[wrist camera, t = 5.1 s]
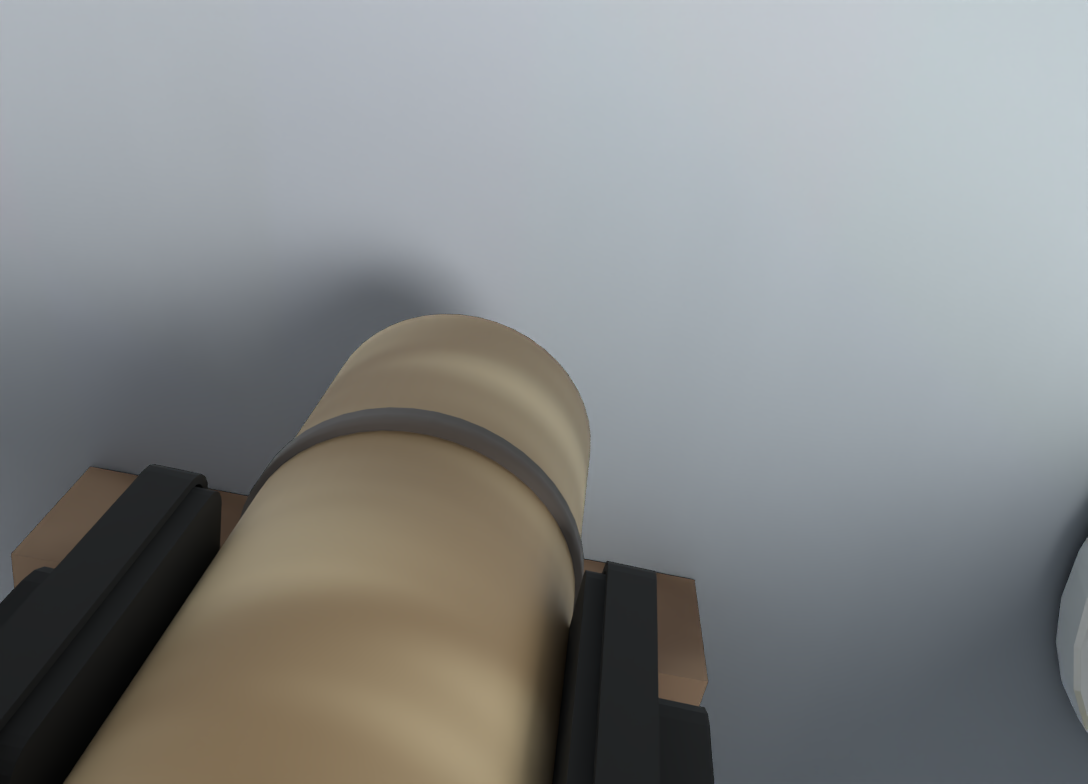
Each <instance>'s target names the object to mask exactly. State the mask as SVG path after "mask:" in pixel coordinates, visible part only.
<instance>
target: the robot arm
mask: <svg viewBox="0 0 1088 784" xmlns="http://www.w3.org/2000/svg"><path fill="white" fill-rule="evenodd" d="M221 508H222V500H221V495H220V493H219V492H218V491H214V490H209V489H208V483H207V480H206V477H205V476H204V475H202V474H198V473H193V472H189V471H184V470H179V469H175V468H170V467H165V466H161V465H156V464H153V465H149V466H148V467H147V468H146V469H144V470H143V471H142V472H141V474H140V475H139V476H138V477H137V478H136V479H135V480H134V481H133V482H132V484H131V485H130V486H129V487H128V488H127V489H126V490H125V491H124V492H123V494H122V495H121V496H120V497H119V498H118V499H117V500H116V501H115V502H114V503H113V505H112V506H111V507H110V508H109V509H108V510H107V511H106V512H105V513H104V515H103V516H102V517H101V518H100V519H99V520H98V521H97V522H96V523H95V525H94V526H93V527H92V528H91V529H90V530H89V531H88V532H87V533H86V534H85V536H84V537H83V538H82V539H81V540H80V541H79V542H78V543H77V544H76V546H75V547H74V548H73V549H72V550H71V551H70V552H69V553H68V554H67V555H66V557H65V558H64V559H63V560H62V561H61V562H60V563H59V564H58V565H57V567H56V568H55V569H54V568H50V567H45V566H44V567H41V568H38V569H35V570H33V571H32V572H31V573H30V574H29V575H27V576H26V577H25V578H24V579H23V580H22V581H21V582H20V583H19V584H18V585H17V586H16V587H15V588H14V589H13V590H12V591H11V593H10V594H9V595H8V596H7V597H6V598H5V599H4V600H3V601H2V602H1V603H0V784H63V782H64V781H65V779H66V778H67V776H68V775H69V773H70V772H71V770H72V769H73V768H74V766H75V765H76V763H77V762H78V760H79V759H80V757H81V756H82V754H83V753H84V751H85V750H86V748H87V747H88V745H89V744H90V742H91V741H92V739H93V738H94V736H95V735H96V733H97V732H98V730H99V729H100V727H101V726H102V724H103V723H104V721H105V720H106V718H107V717H108V715H109V714H110V712H111V711H112V709H113V708H114V706H115V705H116V703H117V702H118V700H119V699H120V698H121V696H122V695H123V693H124V692H125V690H126V689H127V687H128V686H129V684H130V683H131V681H132V680H133V678H134V677H135V675H136V674H137V672H138V671H139V669H140V668H141V666H142V665H143V663H144V662H145V660H146V659H147V657H148V656H149V654H150V653H151V651H152V650H153V648H154V647H155V645H156V644H157V642H158V641H159V639H160V638H161V636H162V635H163V633H164V632H165V631H166V629H167V628H168V626H169V625H170V623H171V622H172V620H173V619H174V617H175V616H176V614H177V613H178V611H179V610H180V608H181V607H182V605H183V604H184V602H185V601H186V599H187V598H188V596H189V595H190V593H191V592H192V590H193V589H194V587H195V586H196V584H197V583H198V581H199V580H200V578H201V577H202V575H203V574H204V572H205V571H206V569H207V568H208V566H209V565H210V564H211V562H212V561H213V559H214V558H215V556H216V555H217V553H218V552H219V550H220V536H221ZM1056 646H1057V653H1058V660H1059V667H1060V674H1061V681H1062V684H1063V686H1064V688H1065V691H1066V693H1067V695H1068V697H1069V699H1070V702H1071V704H1072V706H1073V708H1074V711H1075V713H1076V715H1077V717H1078V719H1079V721H1080V722H1081V724H1082V725H1083V727H1084V728H1085V730H1086V732H1087V733H1088V537H1087V539H1086V540H1085V542H1084V543H1083V545H1082V547H1081V548H1080V550H1079V552H1078V554H1077V557H1076V560H1075V562H1074V565H1073V568H1072V570H1071V573H1070V576H1069V578H1068V581H1067V584H1066V586H1065V589H1064V592H1063V594H1062V597H1061V604H1060V612H1059V620H1058V628H1057V636H1056ZM552 784H714V776H713V763H712V750H711V736H710V725H709V719H708V713H707V711H706V709H705V708H704V707H699V706H695V705H690V704H685V703H681V702H676V701H671V700H667V699H662V698H659V697H658V624H657V576H656V572H655V571H652V570H647V569H642V568H638V567H633V566H628V565H624V564H619V563H614V562H610V561H607V562H606V563H605V566H604V569H603V572H602V573H598V572H593V571H588V570H585V572H584V575H583V578H582V582H581V585H580V589H579V593H578V597H577V601H576V605H575V608H574V612H573V616H572V620H571V624H570V627H569V636H568V645H567V654H566V663H565V672H564V681H563V690H562V699H561V708H560V718H559V727H558V736H557V745H556V754H555V763H554V772H553V781H552Z"/></svg>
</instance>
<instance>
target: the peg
mask: <svg viewBox="0 0 1088 784" xmlns="http://www.w3.org/2000/svg"><path fill="white" fill-rule="evenodd" d="M589 457H590V428H589V421H588V417H587V413H586V410H585V406H584V403H583V401H582V399H581V397H580V394H579V392H578V390H577V388H576V386H575V385H574V383H573V382H572V380H571V378H570V377H569V375H568V374H567V373H566V371H565V370H564V369H563V368H562V367H561V365H560V364H559V363H558V362H557V361H556V360H555V359H554V358H553V357H552V356H551V355H550V354H549V353H548V352H547V351H546V350H545V349H543V348H542V347H541V346H539V345H538V344H537V343H535V342H534V341H533V340H531V339H530V338H528V337H526V336H524V335H523V334H521V333H519V332H517V331H516V330H514V329H511V328H509V327H507V326H504V325H502V324H499V323H497V322H494V321H490V320H486V319H483V318H479V317H473V316H467V315H460V314H436V315H426V316H420V317H416V318H412V319H407V320H404V321H402V322H399V323H396V324H394V325H391V326H389V327H387V328H385V329H383V330H382V331H380V332H378V333H376V334H375V335H373V336H372V337H371V338H369V339H368V340H367V341H365V342H364V343H363V344H362V345H361V346H360V347H359V348H358V349H357V350H356V351H355V352H354V353H353V354H352V355H351V356H350V357H349V359H348V360H347V361H346V363H345V364H344V366H343V367H342V368H341V370H340V371H339V373H338V374H337V376H336V377H335V379H334V380H333V382H332V383H331V385H330V386H329V388H328V389H327V391H326V392H325V394H324V395H323V397H322V398H321V400H320V401H319V403H318V404H317V406H316V407H315V409H314V410H313V412H312V413H311V415H310V416H309V418H308V419H307V421H306V422H305V424H304V425H303V427H302V428H301V429H300V431H299V432H298V434H297V435H296V437H295V438H294V439H293V440H292V441H290V442H289V443H288V444H287V445H286V446H285V447H284V448H283V449H282V450H281V451H280V452H279V453H278V454H277V455H276V456H275V457H274V458H273V460H272V461H271V463H270V464H269V465H268V467H267V468H266V469H265V471H264V472H263V474H262V475H261V477H260V478H259V480H258V481H257V482H256V484H255V485H254V487H253V488H252V490H251V492H250V494H249V496H248V498H247V500H246V502H245V504H244V506H243V509H242V513H241V516H240V519H239V522H238V523H237V525H236V526H235V528H234V529H233V531H232V532H231V534H230V535H229V537H228V538H227V540H226V541H225V543H224V544H223V546H222V547H221V549H220V550H219V552H218V553H217V555H216V556H215V558H214V559H213V561H212V562H211V564H210V565H209V566H208V568H207V569H206V571H205V572H204V574H203V575H202V577H201V578H200V580H199V581H198V583H197V584H196V586H195V587H194V589H193V590H192V592H191V593H190V595H189V596H188V598H187V599H186V601H185V602H184V604H183V605H182V607H181V608H180V610H179V611H178V613H177V614H176V616H175V617H174V619H173V620H172V622H171V623H170V625H169V626H168V628H167V629H166V631H165V632H164V633H163V635H162V636H161V638H160V639H159V641H158V642H157V644H156V645H155V647H154V648H153V650H152V651H151V653H150V654H149V656H148V657H147V659H146V660H145V662H144V663H143V665H142V666H141V668H140V669H139V671H138V672H137V674H136V675H135V677H134V678H133V680H132V681H131V683H130V684H129V686H128V687H127V689H126V690H125V692H124V693H123V695H122V696H121V698H120V699H119V700H118V702H117V703H116V705H115V706H114V708H113V709H112V711H111V712H110V714H109V715H108V717H107V718H106V720H105V721H104V723H103V724H102V726H101V727H100V729H99V730H98V732H97V733H96V735H95V736H94V738H93V739H92V741H91V742H90V744H89V745H88V747H87V748H86V750H85V751H84V753H83V754H82V756H81V757H80V759H79V760H78V762H77V763H76V765H75V766H74V768H73V769H72V770H71V772H70V773H69V775H68V776H67V778H66V779H65V781H64V782H63V784H552V781H553V772H554V763H555V754H556V745H557V736H558V727H559V718H560V708H561V699H562V690H563V681H564V672H565V663H566V654H567V645H568V636H569V627H570V624H571V620H572V616H573V612H574V608H575V605H576V601H577V597H578V593H579V589H580V585H581V582H582V578H583V575H584V556H583V549H582V542H581V532H582V523H583V513H584V504H585V495H586V485H587V476H588V467H589Z"/></svg>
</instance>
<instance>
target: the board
mask: <svg viewBox="0 0 1088 784" xmlns="http://www.w3.org/2000/svg"><path fill="white" fill-rule="evenodd" d="M137 477H138V475H133V474H127V473H122V472H117V471H111V470H106V469H101V468H95V467H89V468H88V470H87V471H86V472H85V473H84V474H83V475H82V476H81V477H80V478H79V480H78V481H77V482H76V483H75V484H74V485H73V486H72V487H71V488H70V489H69V491H68V492H67V493H66V494H65V495H64V496H63V497H62V498H61V499H60V501H59V502H58V503H57V504H56V505H55V506H54V507H53V508H52V509H51V510H50V512H49V513H48V514H47V515H46V516H45V517H44V518H43V519H42V520H41V521H40V523H39V524H38V525H37V526H36V527H35V528H34V529H33V530H32V531H31V533H30V534H29V535H28V536H27V537H26V538H25V539H24V540H23V541H22V542H21V544H20V545H19V546H18V547H17V548H16V549H15V550H14V551H13V552H12V554H11V558H12V569H13V579H14V588H15V587H16V586H17V585H18V584H19V583H20V582H21V581H22V580H23V579H24V578H25V577H26V576H27V575H29V574H30V573H31V572H32V571H33V570H35V569H38V568H41V567H44V566H45V567H50V568H54V569H55V568H56V567H57V565H58V564H59V563H60V562H61V561H62V560H63V559H64V558H65V557H66V555H67V554H68V553H69V552H70V551H71V550H72V549H73V548H74V547H75V546H76V544H77V543H78V542H79V541H80V540H81V539H82V538H83V537H84V536H85V534H86V533H87V532H88V531H89V530H90V529H91V528H92V527H93V526H94V525H95V523H96V522H97V521H98V520H99V519H100V518H101V517H102V516H103V515H104V513H105V512H106V511H107V510H108V509H109V508H110V507H111V506H112V505H113V503H114V502H115V501H116V500H117V499H118V498H119V497H120V496H121V495H122V494H123V492H124V491H125V490H126V489H127V488H128V487H129V486H130V485H131V484H132V482H133V481H134V480H135V479H136V478H137ZM209 490H213V489H209ZM214 491H218V490H214ZM218 492H219V493H220V495H221V500H222V508H221V536H220V549H221V547H222V546H223V544H224V543H225V541H226V540H227V538H228V537H229V535H230V534H231V532H232V531H233V529H234V528H235V526H236V525H237V523H238V522H239V519H240V516H241V513H242V509H243V506H244V504H245V502H246V500H247V498H248V496H245V495H239V494H234V493H229V492H223V491H218ZM604 566H605V563H602V562H597V561H591V560H586V559H584V572H585V570H588V571H593V572H598V573H602V572H603V569H604ZM656 576H657V624H658V697H659V698H662V699H667V700H671V701H676V702H681V703H685V704H690V705H695V706H699V705H700V703H701V700H702V697H703V694H704V692H705V689H706V686H707V683H708V677H707V670H706V662H705V655H704V647H703V640H702V632H701V625H700V617H699V610H698V602H697V595H696V587H695V580H693V579H687V578H682V577H677V576H671V575H666V574H661V573H656Z"/></svg>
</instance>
